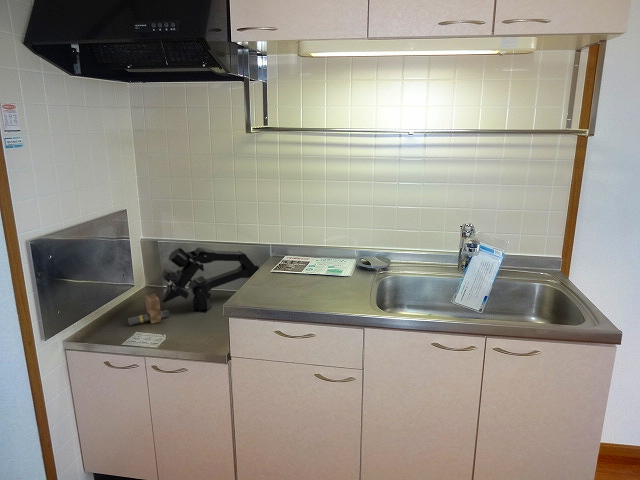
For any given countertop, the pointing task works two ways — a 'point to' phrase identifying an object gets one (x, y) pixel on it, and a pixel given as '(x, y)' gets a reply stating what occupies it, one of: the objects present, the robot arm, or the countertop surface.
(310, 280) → the countertop surface
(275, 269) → the countertop surface
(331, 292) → the countertop surface
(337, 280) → the countertop surface
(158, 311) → the rectangular wooden block
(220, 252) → the robot arm
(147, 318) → the steel pipe
